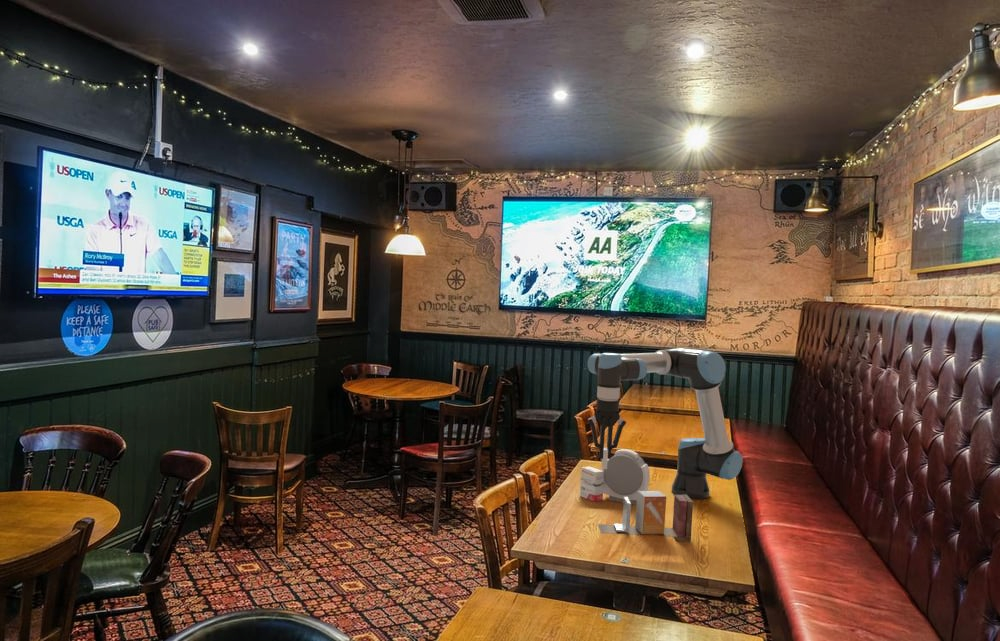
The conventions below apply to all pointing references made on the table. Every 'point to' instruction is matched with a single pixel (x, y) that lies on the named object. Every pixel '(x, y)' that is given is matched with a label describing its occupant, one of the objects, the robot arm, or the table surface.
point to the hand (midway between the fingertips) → (604, 467)
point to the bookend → (624, 517)
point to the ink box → (591, 484)
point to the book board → (666, 530)
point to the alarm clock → (625, 476)
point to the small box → (650, 512)
